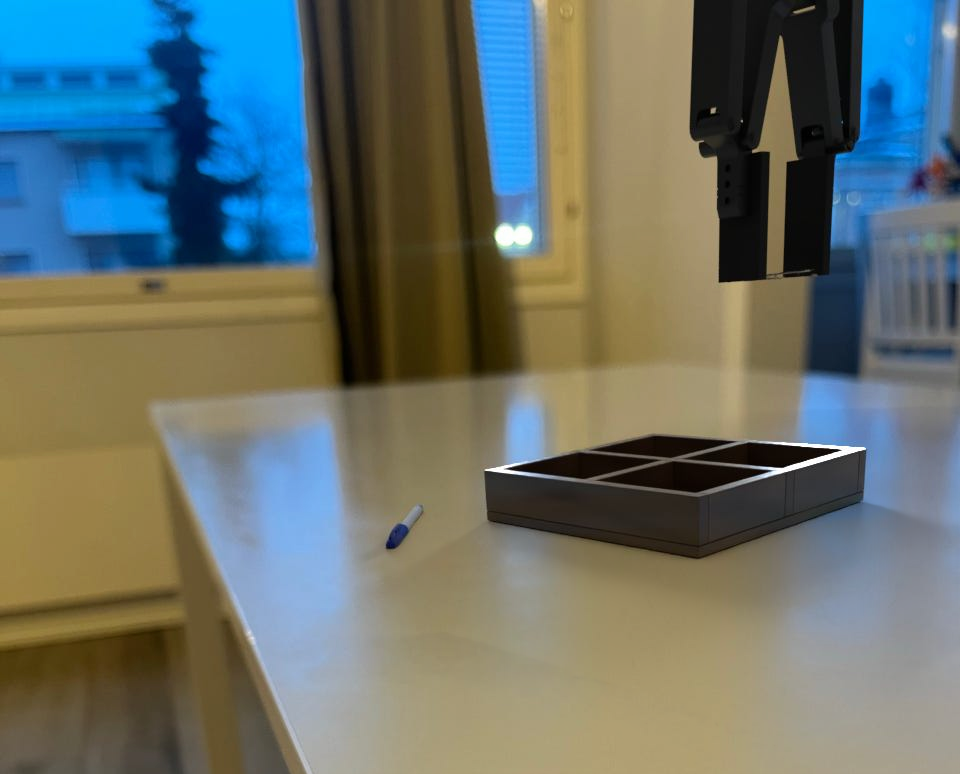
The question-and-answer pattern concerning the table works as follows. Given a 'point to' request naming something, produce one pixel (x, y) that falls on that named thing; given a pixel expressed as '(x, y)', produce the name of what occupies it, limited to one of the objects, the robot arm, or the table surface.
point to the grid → (676, 490)
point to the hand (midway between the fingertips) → (775, 277)
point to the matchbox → (786, 273)
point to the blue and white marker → (403, 528)
